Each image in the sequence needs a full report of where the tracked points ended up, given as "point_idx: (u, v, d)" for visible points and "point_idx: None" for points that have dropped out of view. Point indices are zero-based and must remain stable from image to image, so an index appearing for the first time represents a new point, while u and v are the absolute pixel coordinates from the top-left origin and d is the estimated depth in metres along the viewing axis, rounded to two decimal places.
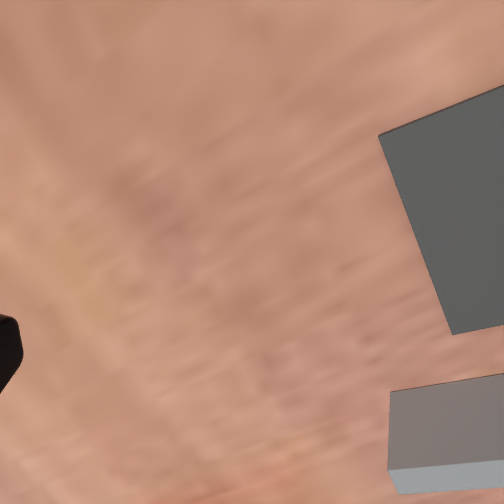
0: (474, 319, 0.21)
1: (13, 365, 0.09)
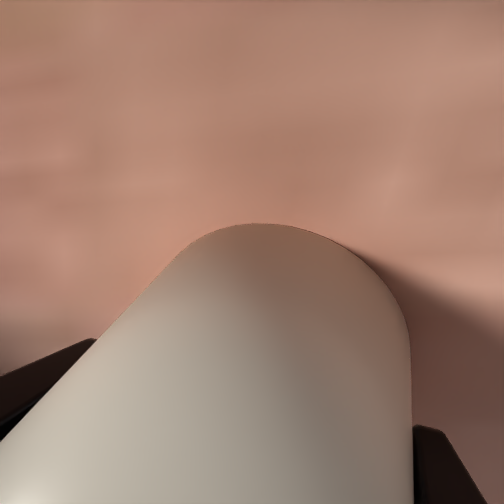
0: None
1: None
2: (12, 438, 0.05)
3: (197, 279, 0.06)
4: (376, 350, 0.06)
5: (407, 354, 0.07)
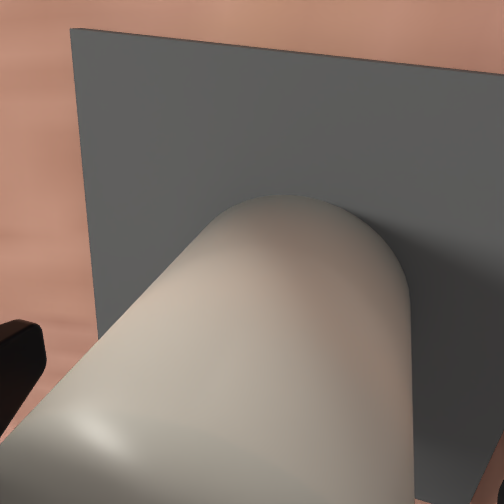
0: None
1: (37, 372, 0.08)
2: (102, 343, 0.06)
3: (233, 235, 0.08)
4: (382, 292, 0.08)
5: (407, 303, 0.09)
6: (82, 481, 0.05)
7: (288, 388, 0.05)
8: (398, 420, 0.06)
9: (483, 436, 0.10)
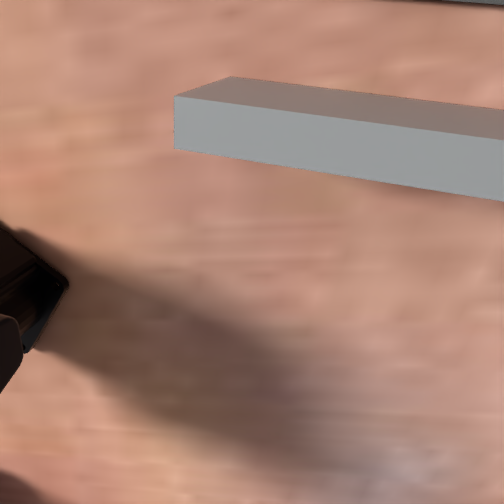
0: None
1: (13, 365, 0.09)
2: None
3: None
4: None
5: None
6: None
7: None
8: None
9: None
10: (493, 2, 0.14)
